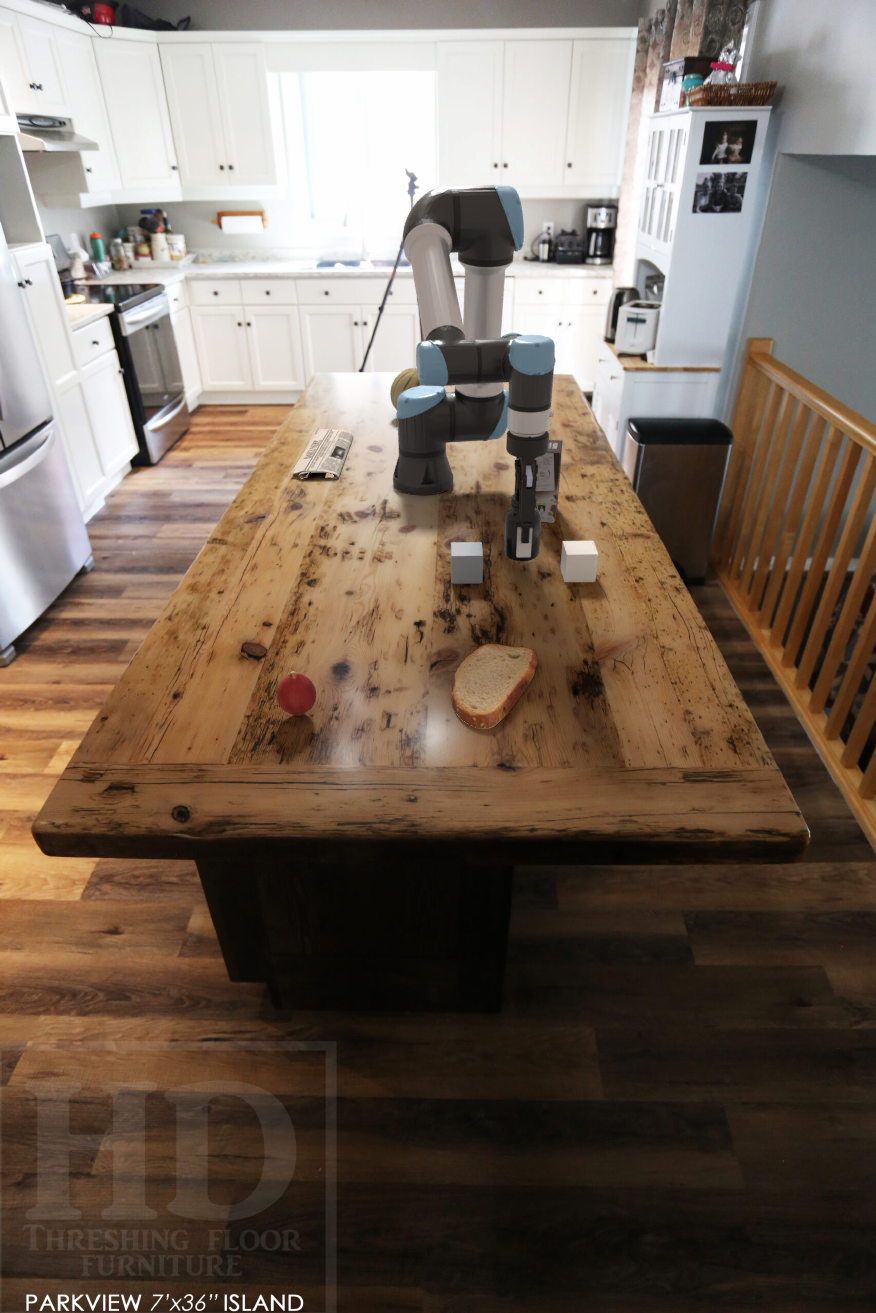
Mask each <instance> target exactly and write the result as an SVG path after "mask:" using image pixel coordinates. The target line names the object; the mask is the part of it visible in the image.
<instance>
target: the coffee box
mask: <svg viewBox="0 0 876 1313" xmlns="http://www.w3.org/2000/svg"><path fill="white" fill-rule="evenodd" d="M562 452H563V440H562V439H561V440H559V439H549V444H548V452H547V453H546V454H545V455H543V456H541V457H537V458H535V459H536V461H537V464H538V473H537V482H536V497H537V507H536V508H537V509H538V510H539V511H540V513H541V523H543V522H544V523H549V524H550V523H551V524H553V523H555V521H556V516H557V511H558V506H559V505H558V504H559V503H558V502H559V494H560V493H559V492H560V479H561V466H562V454H563V453H562Z"/></svg>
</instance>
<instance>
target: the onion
mask: <svg viewBox="0 0 876 1313" xmlns="http://www.w3.org/2000/svg"><path fill="white" fill-rule="evenodd" d="M316 700H317V688H316V687H315V685H314V683H313V681H312V680H311V679H310V678H309V677H308V676H306V675H304V674H303V673H299V672H297V671H290V672H289V674H288V675H286V676H285V677H283V678H282V679H281V681H280V683H279V684H278V686H277V689H276V702H277V704H278V705H279V707H280V709H281V710H282V711H284V712H286V713H288V714H290V715H293V716H296V717H299V716H300V717H301V716H303V715H304V714H306V713H307V712H308V711H309V710H311V709H312V707H314V706H315V704H316Z"/></svg>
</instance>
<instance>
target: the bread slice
mask: <svg viewBox="0 0 876 1313" xmlns="http://www.w3.org/2000/svg"><path fill="white" fill-rule="evenodd" d="M537 665H538V656H537V655H536V654H535V652H534V651H533V649H531V648H528V647H523V646H521V647H520V646H509V645H503V644H500V643H499V644H498V643H487V644H484V645H481V646H479V647H478V648H477V649H476V650H473V652H471V653H470V654H469V655H468V656H467V657H465V658H464V660H463V661H462V662H460V664H459V666H458V668H457V669H456V671H455V674H454V675H453V680H454V684H453V686H452V688H453V692H452V691H451V694H452V699H451V706H452V705H453V706H452V708H453V707H454V708H453V710H454V709H455V711H456V712H455V711H454V712H455V714H456V713H457V714H458V716H459V717H460V718H461V719H462V720H463V721H465V722H466V723H468V724H469V725H468V724H467V725H468V726H470V725H472V726H474V727H476V728H484V727H486V728H489V727H492V726H494V725H496V724H498V723H499V722H500V721H501V720H502V719H503V718H504V717H505V716H506V715H507V714H508V713H509V714H510V712H511V711H512V710H513V709H514V707H515V705H516V704H517V702H518V701H519V699H520V698H521V697H522V696H523V694H524V693H525V691H526V689H527V688H528V687H529V685H530V683H531V681H532V680H533V678H534V675H535V673H536V672H535V671H536V668H537ZM523 692H524V693H523ZM520 696H521V697H520ZM515 703H516V704H515ZM513 706H514V707H513ZM512 708H513V709H512ZM511 709H512V710H511ZM510 710H511V711H510ZM509 711H510V712H509ZM457 714H456V715H457ZM509 714H508V715H509ZM508 715H507V716H508ZM458 716H457V717H458ZM507 716H506V717H507ZM459 717H458V718H459ZM506 717H505V718H506ZM460 718H459V719H460ZM505 718H504V719H505ZM461 719H460V720H461ZM504 719H503V720H504ZM462 720H461V721H462ZM503 720H502V721H503ZM463 721H462V722H463ZM502 721H501V722H502ZM465 722H464V723H465ZM501 722H500V723H501ZM466 723H465V724H466ZM500 723H499V724H500ZM499 724H498V725H499ZM472 726H471V727H472ZM474 727H473V728H474ZM476 728H475V729H476Z"/></svg>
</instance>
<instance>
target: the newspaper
mask: <svg viewBox="0 0 876 1313" xmlns="http://www.w3.org/2000/svg"><path fill="white" fill-rule="evenodd" d="M353 439H354V434H353V433H352V432H350V431H349V430H346V429H339V428H337V429H334V428H333V429H326V428H321V427H319V426H316V427H315V430H314V431H313V434H311V437H310V440H309V442H308V444H307V445H306V447H305V450H304V452H303V453H302V455H301V456H300V458H299V459H298V461H297V463H296V464H295V466H294V467H293V469H292V470H291V472H290V473H291V474H298V473H299V474H298V479H300V480H302V479H301V478H304V477H306V475H307V474H308V473H309V472H311V473H323V474H324V473H330V474H333V475H334V478H333V479H334V480H339V478H340V475H341V472H342V470H343V467H344V465H345V462H346V459H347V457H348V453H349V451H350V447H351V445H352V442H353ZM300 477H301V478H300Z"/></svg>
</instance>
